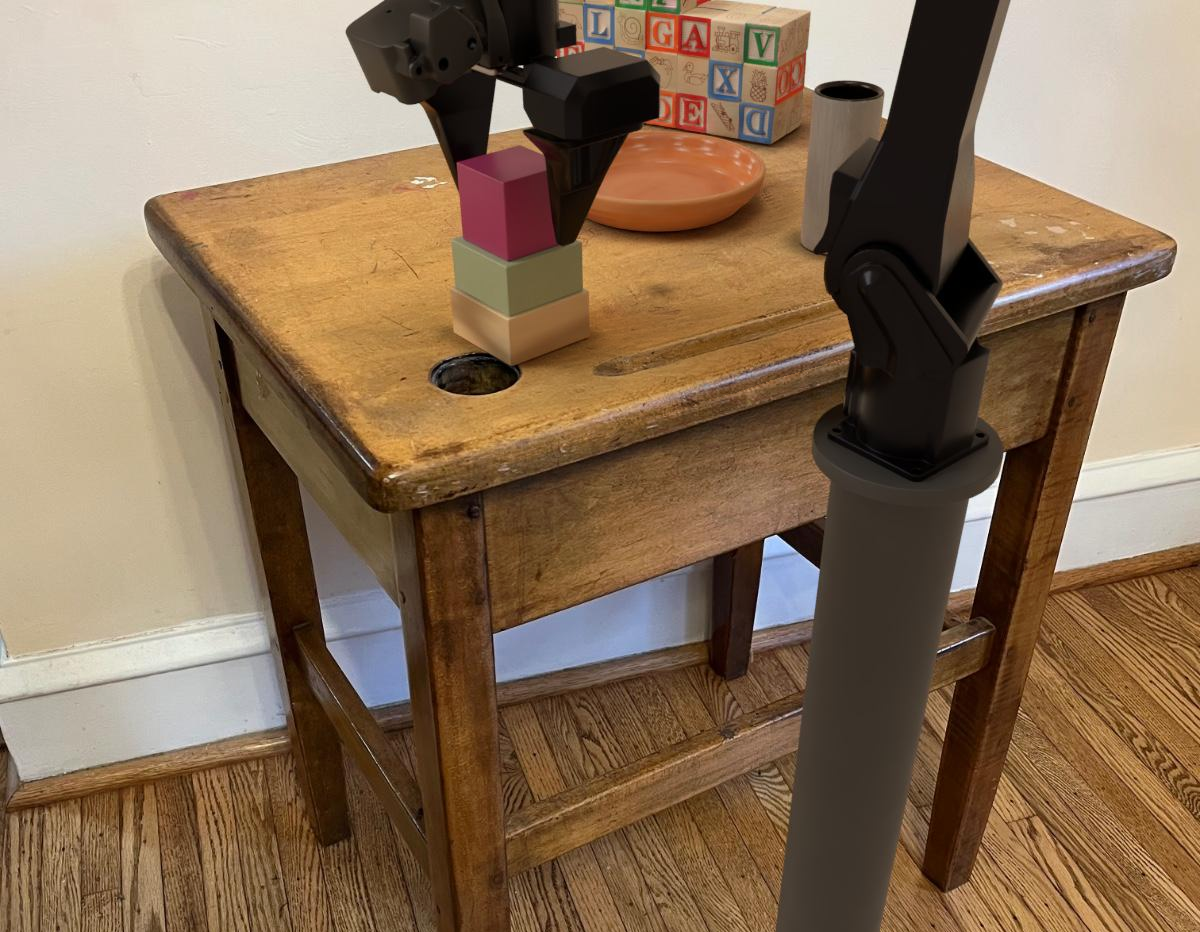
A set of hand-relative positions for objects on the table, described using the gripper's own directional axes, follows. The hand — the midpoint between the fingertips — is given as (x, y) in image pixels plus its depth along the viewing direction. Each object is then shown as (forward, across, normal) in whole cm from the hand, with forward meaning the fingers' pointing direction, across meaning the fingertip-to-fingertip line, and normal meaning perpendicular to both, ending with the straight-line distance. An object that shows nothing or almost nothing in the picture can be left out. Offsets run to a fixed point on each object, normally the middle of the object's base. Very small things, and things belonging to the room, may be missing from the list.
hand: (516, 220), depth 71 cm
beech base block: (+7, 0, 0) cm, 7 cm away
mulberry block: (+1, 0, 0) cm, 1 cm away
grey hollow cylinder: (+7, +3, +25) cm, 26 cm away
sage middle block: (+4, 0, 0) cm, 4 cm away
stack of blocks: (+7, -25, +36) cm, 44 cm away
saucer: (+7, -11, +21) cm, 25 cm away
